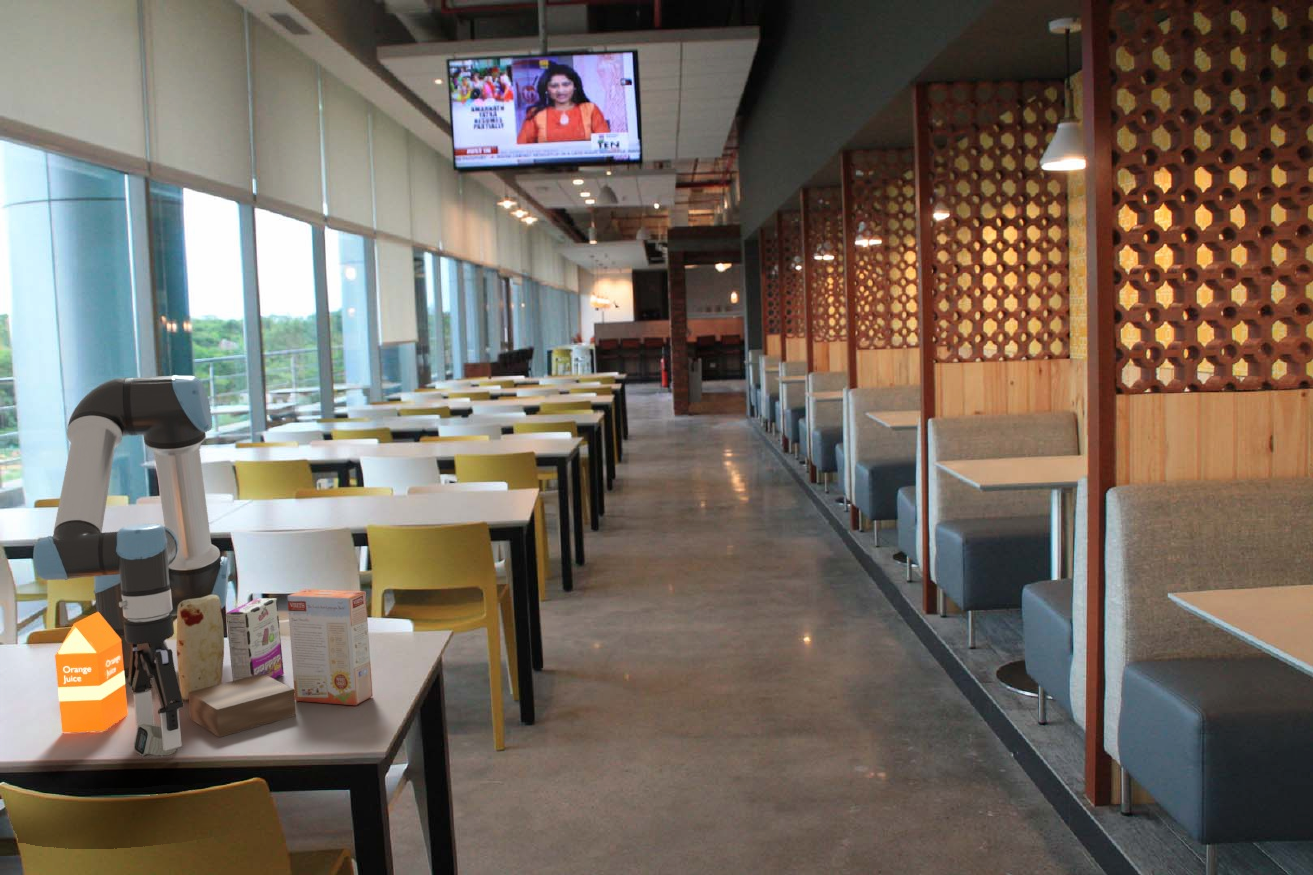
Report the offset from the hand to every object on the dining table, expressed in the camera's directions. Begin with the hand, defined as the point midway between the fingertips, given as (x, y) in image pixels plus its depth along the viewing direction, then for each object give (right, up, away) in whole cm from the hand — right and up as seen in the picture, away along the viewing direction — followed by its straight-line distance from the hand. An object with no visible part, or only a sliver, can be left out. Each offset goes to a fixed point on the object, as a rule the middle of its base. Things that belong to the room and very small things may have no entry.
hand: (158, 738), depth 180 cm
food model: (-4, +1, +27) cm, 27 cm away
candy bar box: (+4, +1, +33) cm, 34 cm away
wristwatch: (0, -2, 0) cm, 2 cm away
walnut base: (+9, 0, +14) cm, 17 cm away
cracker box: (+23, +1, +22) cm, 32 cm away
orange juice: (-18, -1, +14) cm, 23 cm away
